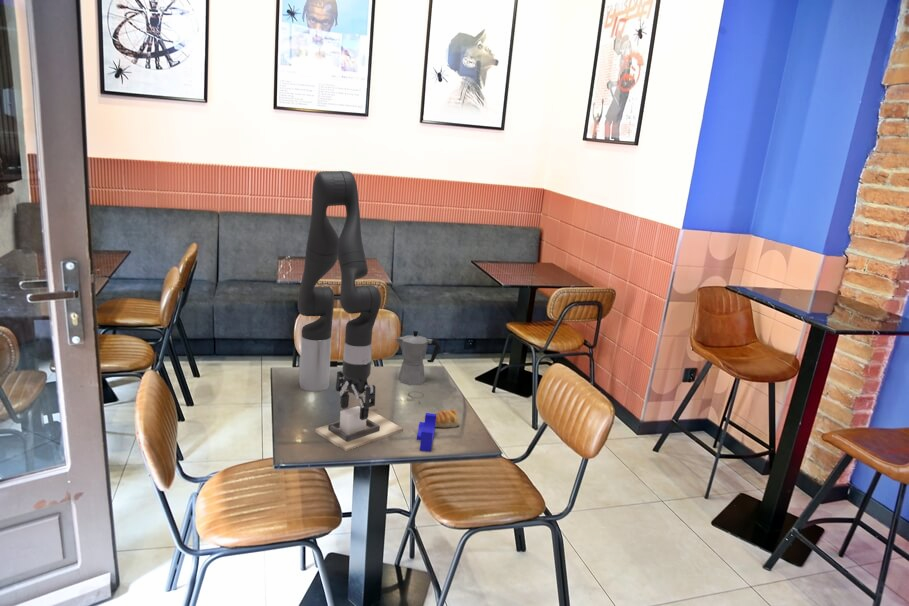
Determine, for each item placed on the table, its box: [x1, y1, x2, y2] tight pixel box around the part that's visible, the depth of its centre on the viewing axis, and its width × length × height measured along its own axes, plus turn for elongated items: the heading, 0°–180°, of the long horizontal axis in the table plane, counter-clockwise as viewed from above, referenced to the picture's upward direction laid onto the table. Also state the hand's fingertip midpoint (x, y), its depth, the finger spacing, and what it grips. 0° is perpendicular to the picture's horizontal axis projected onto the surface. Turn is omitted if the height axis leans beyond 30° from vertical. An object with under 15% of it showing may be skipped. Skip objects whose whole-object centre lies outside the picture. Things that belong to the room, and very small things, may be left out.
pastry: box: [433, 409, 460, 429], centre depth 184 cm, size 9×7×4 cm
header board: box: [314, 410, 404, 452], centre depth 175 cm, size 14×20×2 cm
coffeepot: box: [395, 330, 441, 386], centre depth 213 cm, size 15×9×18 cm, turn 87°
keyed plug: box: [339, 405, 366, 435], centre depth 173 cm, size 4×7×6 cm, turn 135°
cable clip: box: [416, 412, 436, 453], centre depth 173 cm, size 12×4×6 cm, turn 177°
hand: (353, 413), depth 172 cm, fingers open, 8 cm apart
